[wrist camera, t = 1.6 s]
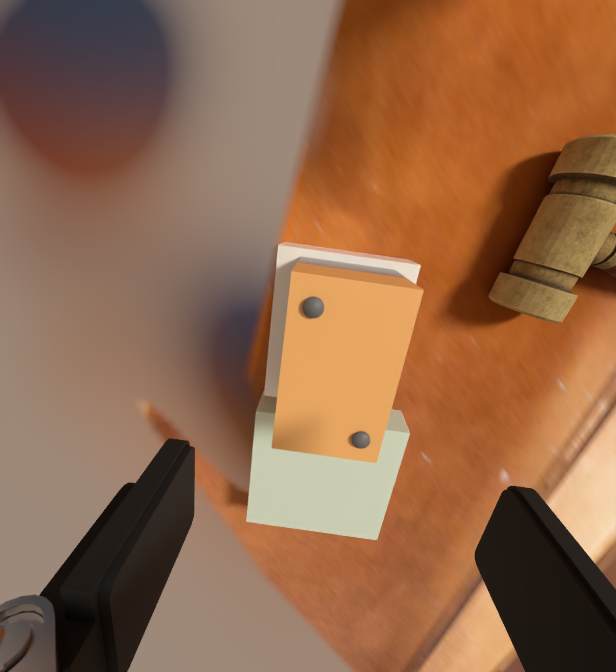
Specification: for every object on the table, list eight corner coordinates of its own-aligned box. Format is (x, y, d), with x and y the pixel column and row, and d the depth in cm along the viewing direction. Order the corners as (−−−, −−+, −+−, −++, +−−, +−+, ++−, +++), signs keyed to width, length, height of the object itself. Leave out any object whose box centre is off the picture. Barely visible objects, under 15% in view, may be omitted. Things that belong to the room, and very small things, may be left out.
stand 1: (284, 241, 22) (278, 244, 19) (408, 259, 22) (420, 265, 19) (270, 376, 26) (263, 395, 23) (375, 391, 26) (382, 412, 23)
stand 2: (263, 390, 26) (255, 411, 24) (401, 410, 26) (410, 433, 24) (253, 494, 31) (246, 521, 28) (372, 511, 31) (376, 540, 28)
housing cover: (297, 262, 17) (291, 271, 14) (407, 278, 17) (425, 291, 14) (278, 416, 20) (270, 450, 17) (369, 429, 20) (377, 465, 17)
